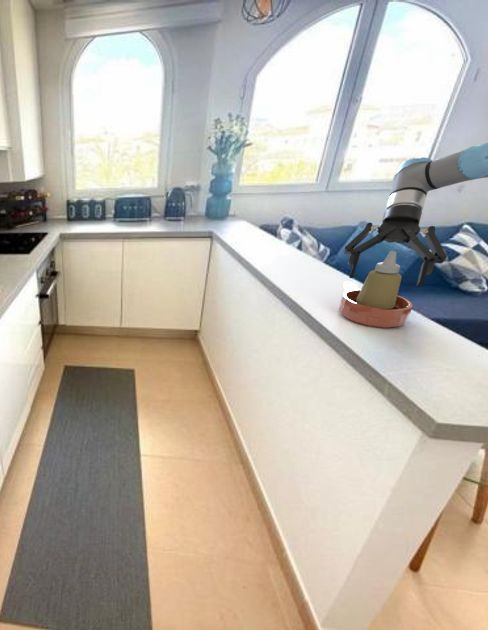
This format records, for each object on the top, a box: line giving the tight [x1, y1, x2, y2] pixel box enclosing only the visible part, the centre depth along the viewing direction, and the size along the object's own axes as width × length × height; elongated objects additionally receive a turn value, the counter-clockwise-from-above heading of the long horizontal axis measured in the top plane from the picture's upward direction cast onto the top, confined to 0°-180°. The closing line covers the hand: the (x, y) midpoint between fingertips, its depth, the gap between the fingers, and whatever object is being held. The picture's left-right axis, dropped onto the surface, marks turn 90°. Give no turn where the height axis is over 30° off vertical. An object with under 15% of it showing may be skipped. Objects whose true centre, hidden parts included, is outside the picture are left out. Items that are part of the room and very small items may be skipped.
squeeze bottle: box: [356, 250, 403, 310], centre depth 91 cm, size 8×8×18 cm
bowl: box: [338, 288, 414, 329], centre depth 94 cm, size 14×14×6 cm
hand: (384, 280), depth 90 cm, fingers open, 13 cm apart
